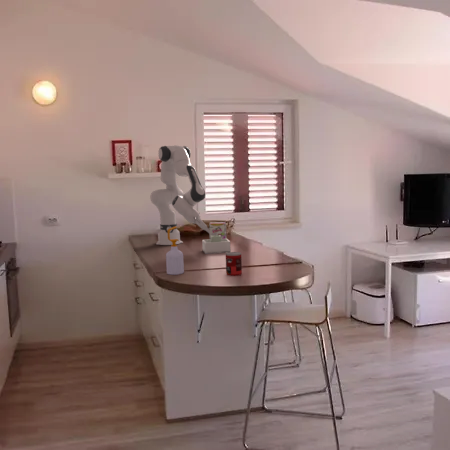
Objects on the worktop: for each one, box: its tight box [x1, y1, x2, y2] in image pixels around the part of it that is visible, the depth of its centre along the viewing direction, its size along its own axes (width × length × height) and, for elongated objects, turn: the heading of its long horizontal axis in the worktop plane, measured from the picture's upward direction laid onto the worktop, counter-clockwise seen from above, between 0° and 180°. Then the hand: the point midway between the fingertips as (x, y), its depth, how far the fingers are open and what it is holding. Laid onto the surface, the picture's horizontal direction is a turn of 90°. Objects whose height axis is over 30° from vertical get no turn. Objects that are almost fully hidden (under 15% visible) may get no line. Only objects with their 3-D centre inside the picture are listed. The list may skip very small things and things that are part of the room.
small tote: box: [210, 235, 221, 242], centre depth 355 cm, size 6×6×9 cm
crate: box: [201, 237, 232, 255], centre depth 356 cm, size 14×16×7 cm
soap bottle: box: [165, 226, 185, 276], centre depth 291 cm, size 9×9×25 cm
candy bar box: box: [208, 221, 227, 239], centre depth 373 cm, size 11×5×16 cm, turn 84°
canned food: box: [225, 251, 243, 277], centre depth 283 cm, size 8×8×11 cm
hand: (208, 231), depth 354 cm, fingers open, 8 cm apart
